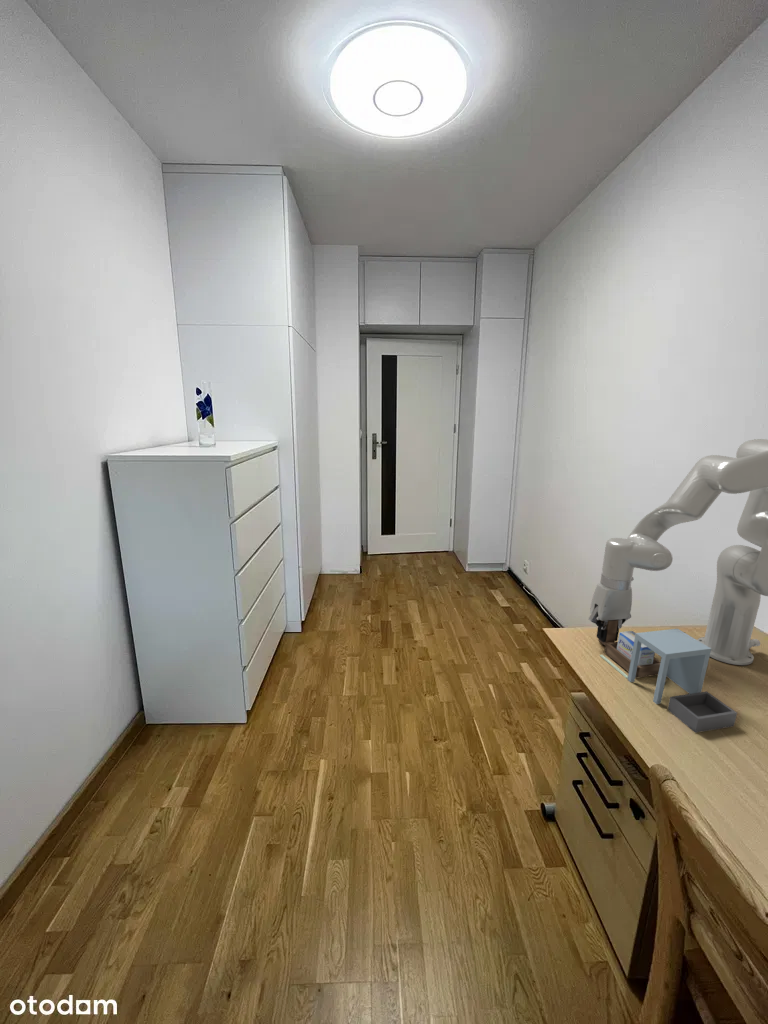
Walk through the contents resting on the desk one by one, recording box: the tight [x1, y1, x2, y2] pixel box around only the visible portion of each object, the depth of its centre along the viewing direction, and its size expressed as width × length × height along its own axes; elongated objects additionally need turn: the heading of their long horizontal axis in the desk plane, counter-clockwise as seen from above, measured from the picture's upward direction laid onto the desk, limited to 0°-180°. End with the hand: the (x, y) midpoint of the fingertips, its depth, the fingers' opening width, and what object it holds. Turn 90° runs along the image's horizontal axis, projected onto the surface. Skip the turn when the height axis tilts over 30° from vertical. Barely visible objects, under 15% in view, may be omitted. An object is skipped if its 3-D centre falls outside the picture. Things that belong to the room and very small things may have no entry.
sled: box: [597, 620, 661, 679], centre depth 112 cm, size 8×17×8 cm, turn 11°
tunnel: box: [627, 628, 711, 705], centre depth 99 cm, size 12×9×13 cm
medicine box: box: [617, 630, 656, 666], centre depth 108 cm, size 8×4×9 cm, turn 11°
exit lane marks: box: [599, 654, 628, 679], centre depth 110 cm, size 12×10×1 cm
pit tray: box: [667, 690, 738, 734], centre depth 91 cm, size 10×7×4 cm
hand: (606, 638), depth 119 cm, fingers closed on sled, 3 cm apart
